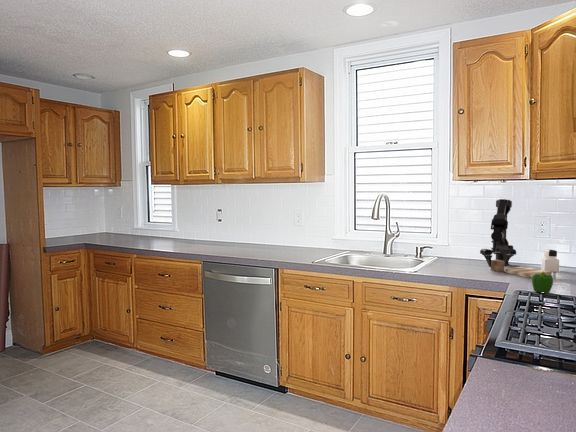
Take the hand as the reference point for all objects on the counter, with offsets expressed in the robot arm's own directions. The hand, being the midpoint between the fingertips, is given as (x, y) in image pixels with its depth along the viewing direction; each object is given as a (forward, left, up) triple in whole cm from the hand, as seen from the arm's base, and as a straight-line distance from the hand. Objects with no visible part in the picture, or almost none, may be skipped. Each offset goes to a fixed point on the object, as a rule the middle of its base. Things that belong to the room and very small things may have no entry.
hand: (497, 266), depth 246 cm
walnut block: (0, 0, -2) cm, 2 cm away
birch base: (+13, +8, -2) cm, 15 cm away
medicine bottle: (+13, +27, -2) cm, 30 cm away
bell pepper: (+42, -24, -2) cm, 48 cm away
